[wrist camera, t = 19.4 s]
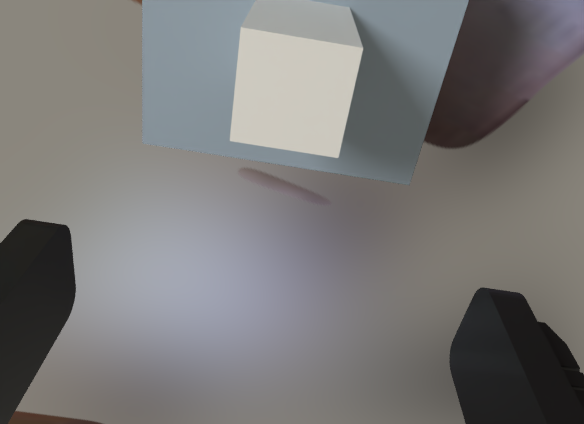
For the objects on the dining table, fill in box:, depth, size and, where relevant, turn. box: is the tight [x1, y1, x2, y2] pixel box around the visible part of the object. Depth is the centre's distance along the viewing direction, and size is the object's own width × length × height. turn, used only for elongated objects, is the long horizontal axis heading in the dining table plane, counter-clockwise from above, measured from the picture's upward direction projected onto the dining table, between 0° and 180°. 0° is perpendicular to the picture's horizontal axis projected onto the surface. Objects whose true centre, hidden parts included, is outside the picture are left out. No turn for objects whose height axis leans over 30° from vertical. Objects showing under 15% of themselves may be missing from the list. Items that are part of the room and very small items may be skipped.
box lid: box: [142, 0, 469, 185], centre depth 27 cm, size 14×16×1 cm
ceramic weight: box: [230, 0, 363, 158], centre depth 23 cm, size 4×4×8 cm
